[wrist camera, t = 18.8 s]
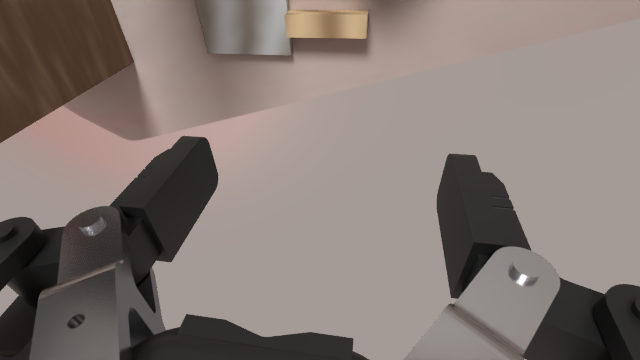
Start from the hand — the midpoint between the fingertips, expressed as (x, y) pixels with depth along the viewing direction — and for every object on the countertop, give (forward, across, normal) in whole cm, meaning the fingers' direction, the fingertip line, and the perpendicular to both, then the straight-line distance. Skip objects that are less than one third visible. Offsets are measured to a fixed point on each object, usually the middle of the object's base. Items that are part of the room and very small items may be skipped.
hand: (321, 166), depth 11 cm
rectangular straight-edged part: (+36, +10, +4) cm, 38 cm away
